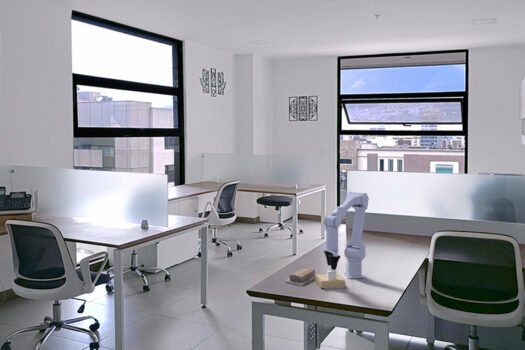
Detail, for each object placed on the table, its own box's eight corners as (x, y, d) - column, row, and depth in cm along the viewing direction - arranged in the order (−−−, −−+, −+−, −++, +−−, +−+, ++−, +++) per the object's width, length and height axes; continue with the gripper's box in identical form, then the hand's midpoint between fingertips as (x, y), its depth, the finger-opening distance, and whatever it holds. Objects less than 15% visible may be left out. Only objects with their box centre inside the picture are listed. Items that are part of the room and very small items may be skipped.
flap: (318, 279, 249) (318, 269, 248) (341, 278, 250) (341, 268, 249) (321, 282, 243) (321, 272, 243) (344, 281, 244) (344, 272, 244)
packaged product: (301, 265, 268) (318, 268, 263) (301, 274, 268) (318, 277, 263) (284, 273, 253) (302, 277, 248) (284, 283, 253) (302, 286, 248)
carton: (315, 281, 255) (315, 274, 255) (338, 280, 256) (338, 273, 256) (320, 288, 243) (320, 281, 243) (345, 287, 245) (345, 280, 244)
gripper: (320, 236, 251) (320, 263, 253) (327, 243, 237) (327, 271, 238) (334, 236, 252) (334, 263, 253) (342, 243, 238) (341, 271, 239)
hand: (331, 267), depth 246 cm, fingers open, 7 cm apart
